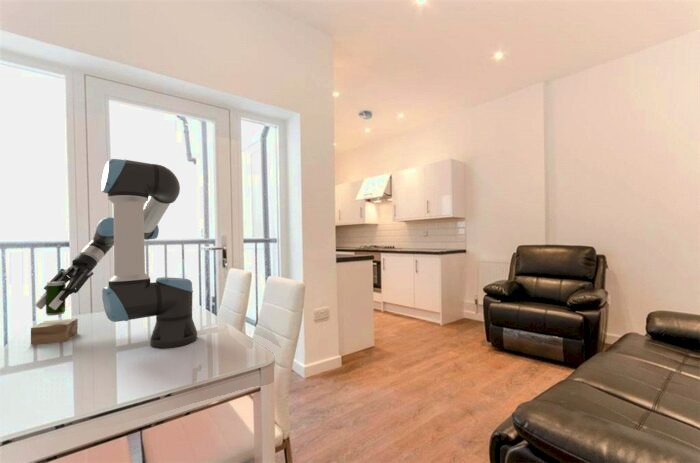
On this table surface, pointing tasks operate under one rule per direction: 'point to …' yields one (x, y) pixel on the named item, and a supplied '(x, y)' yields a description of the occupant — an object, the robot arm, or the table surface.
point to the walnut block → (54, 331)
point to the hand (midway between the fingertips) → (45, 307)
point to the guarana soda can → (51, 294)
